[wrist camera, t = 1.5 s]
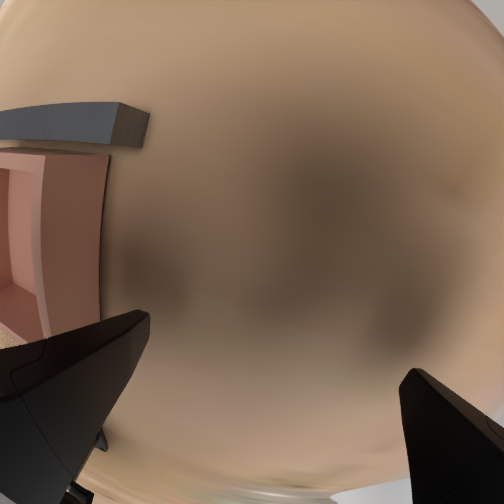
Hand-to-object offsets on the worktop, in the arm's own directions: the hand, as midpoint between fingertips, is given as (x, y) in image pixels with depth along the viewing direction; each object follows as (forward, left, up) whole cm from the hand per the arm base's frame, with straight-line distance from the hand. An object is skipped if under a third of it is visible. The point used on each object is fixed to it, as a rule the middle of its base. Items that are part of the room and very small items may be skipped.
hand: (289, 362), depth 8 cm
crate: (0, +13, -4) cm, 13 cm away
